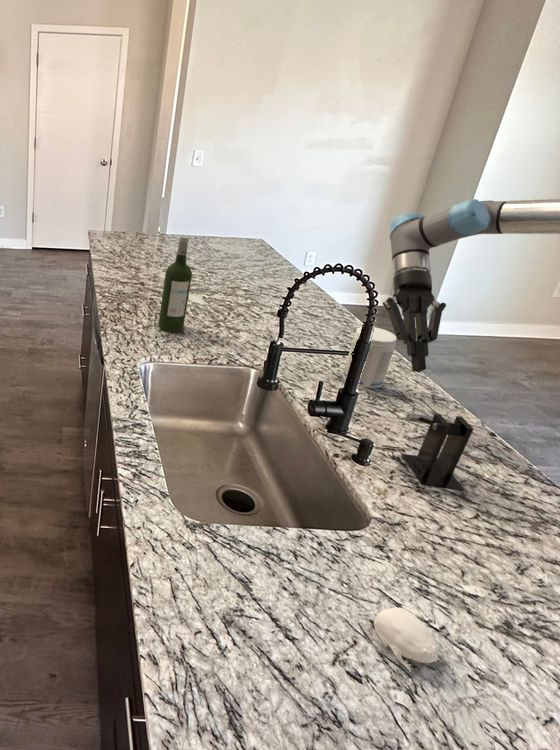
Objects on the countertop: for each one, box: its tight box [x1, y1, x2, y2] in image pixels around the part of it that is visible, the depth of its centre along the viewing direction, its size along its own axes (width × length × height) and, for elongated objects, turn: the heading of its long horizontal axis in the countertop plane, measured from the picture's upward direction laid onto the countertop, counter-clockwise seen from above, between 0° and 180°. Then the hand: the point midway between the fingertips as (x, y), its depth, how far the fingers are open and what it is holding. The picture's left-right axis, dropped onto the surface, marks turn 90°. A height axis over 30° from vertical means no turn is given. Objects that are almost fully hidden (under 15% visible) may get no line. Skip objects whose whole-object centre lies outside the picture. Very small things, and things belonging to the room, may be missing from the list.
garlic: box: [373, 607, 442, 673], centre depth 77 cm, size 8×7×4 cm
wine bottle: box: [158, 235, 193, 333], centre depth 167 cm, size 8×8×30 cm
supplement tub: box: [342, 326, 398, 389], centre depth 143 cm, size 10×10×15 cm
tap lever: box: [405, 412, 461, 437], centre depth 112 cm, size 13×5×2 cm, turn 170°
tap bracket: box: [400, 413, 474, 492], centre depth 109 cm, size 10×8×14 cm
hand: (419, 370), depth 120 cm, fingers closed
